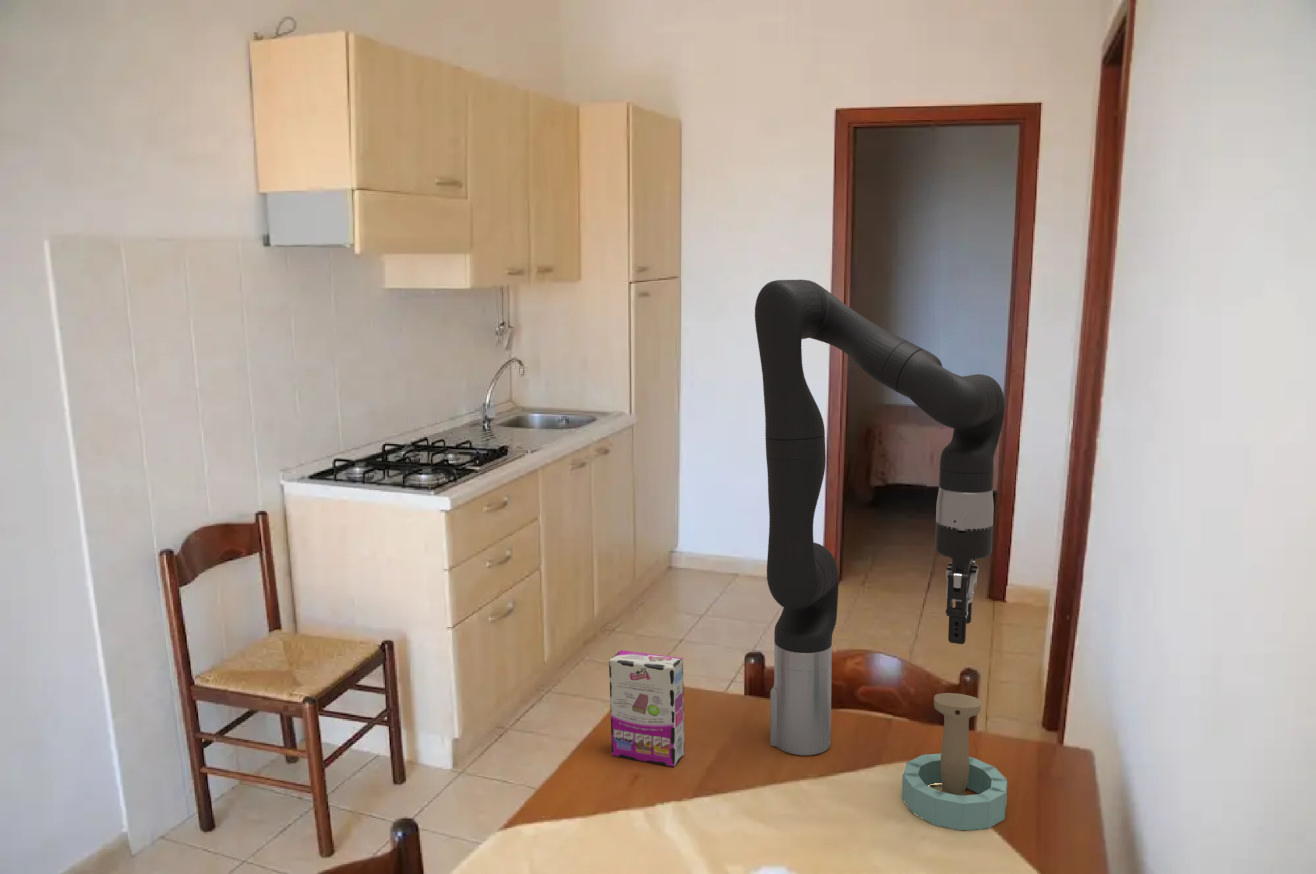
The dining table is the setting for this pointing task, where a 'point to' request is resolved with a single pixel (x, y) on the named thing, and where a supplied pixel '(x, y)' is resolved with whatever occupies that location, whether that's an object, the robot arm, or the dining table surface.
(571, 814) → the dining table surface
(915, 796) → the notched ring
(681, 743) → the candy bar box
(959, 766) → the handle
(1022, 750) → the dining table surface
